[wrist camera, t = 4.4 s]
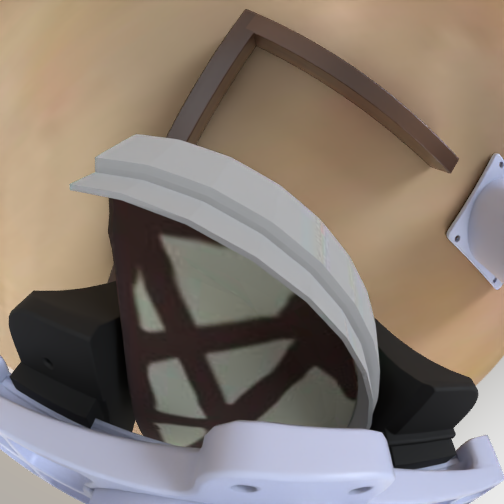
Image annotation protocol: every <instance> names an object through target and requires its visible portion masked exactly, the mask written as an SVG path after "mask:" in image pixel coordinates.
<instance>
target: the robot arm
mask: <svg viewBox="0 0 504 504" xmlns="http://www.w3.org/2000/svg"><path fill="white" fill-rule="evenodd" d="M499 164H500V166H499ZM456 236H457V239H456V240H455V237H456ZM447 238H448V239H449V240H450V241H451V242H452V243H453V244H454V245H455V246H456V247H457V248H458V249H459V250H460V251H461V252H462V253H463V254H464V255H465V256H466V257H467V258H468V260H469V261H470V262H471V263H472V264H473V265H474V266H475V267H476V268H477V269H478V270H479V271H480V272H481V274H482V275H483V276H484V277H485V278H486V279H487V280H488V281H489V283H490V284H491V285H492V286H493V287H494V288H495V289H496V290H498V289H499V288H500V287H501V286H502V285H503V284H504V160H503V158H502V157H501V156H500V155H499V154H496V153H494V154H493V155H492V157H491V159H490V161H489V163H488V165H487V167H486V168H485V170H484V172H483V174H482V176H481V178H480V179H479V181H478V183H477V185H476V186H475V188H474V190H473V191H472V193H471V195H470V196H469V198H468V200H467V201H466V203H465V205H464V206H463V208H462V209H461V211H460V212H459V214H458V216H457V217H456V219H455V220H454V222H453V223H452V225H451V226H450V228H449V229H448V231H447ZM374 320H375V324H376V333H377V343H378V354H379V366H380V379H379V393H378V400H377V403H376V406H375V409H374V411H373V414H372V424H371V427H370V429H363V428H330V427H314V426H302V425H292V424H283V423H275V422H267V421H250V420H236V421H232V422H228V423H224V424H219V425H217V426H214V427H213V428H212V429H211V430H210V431H209V432H208V433H207V434H206V435H205V436H204V441H203V445H202V447H201V448H191V447H181V446H176V445H172V444H168V443H165V442H161V441H158V440H154V439H151V438H148V437H145V436H142V435H139V434H136V433H133V432H132V430H133V427H134V423H135V418H134V414H133V409H132V404H131V399H130V393H129V387H128V379H127V371H126V361H125V354H124V346H123V338H122V329H121V320H120V313H119V305H118V296H117V286H116V281H113V282H110V283H106V284H102V285H97V286H93V287H88V288H82V289H74V290H63V291H33V292H32V293H31V294H29V295H28V296H27V297H26V298H25V299H24V300H23V301H22V302H21V303H20V304H19V305H17V306H16V307H15V308H14V309H13V310H12V311H11V313H10V315H9V328H10V332H11V336H12V339H13V341H14V344H15V347H16V349H17V352H18V354H19V357H20V359H21V363H20V364H19V365H18V366H17V368H16V369H15V370H14V371H13V373H12V374H11V373H10V372H9V369H8V367H7V364H6V362H5V361H4V359H3V358H2V356H1V355H0V449H1V450H2V451H3V452H5V453H6V454H7V455H8V456H10V457H11V458H13V459H14V460H15V461H16V462H18V463H19V464H21V465H22V466H23V467H25V468H26V469H28V470H29V471H31V472H32V473H33V474H35V475H36V476H38V477H40V478H41V479H43V480H44V481H46V482H47V483H49V484H51V485H52V486H54V487H56V488H57V489H59V490H61V491H62V492H64V493H66V494H68V495H70V496H72V497H73V498H75V499H77V500H79V501H81V502H83V503H85V504H469V503H471V502H472V501H474V500H475V499H477V498H479V497H480V496H482V495H483V494H485V493H486V492H488V491H489V490H491V489H492V488H494V487H495V486H497V485H498V484H499V483H501V482H502V481H503V480H504V474H503V472H502V469H501V466H500V464H499V461H498V459H497V456H496V454H495V451H494V449H493V446H492V444H491V442H490V439H489V437H488V435H484V436H480V437H476V438H472V439H470V440H468V441H466V442H465V443H464V444H463V445H461V446H460V447H459V448H458V449H457V450H456V451H455V448H454V445H453V443H452V440H451V438H454V436H455V431H454V429H453V428H454V427H455V426H456V425H457V424H458V423H459V422H460V421H461V420H462V419H463V418H464V417H465V416H466V415H467V413H468V412H469V411H470V410H471V409H472V408H473V406H474V404H475V403H476V401H477V398H478V390H477V388H476V386H475V384H474V383H473V381H472V380H471V378H469V377H466V376H464V375H461V374H459V373H456V372H453V371H451V370H449V369H446V368H444V367H442V366H440V365H438V364H436V363H434V362H433V361H431V360H429V359H427V358H426V357H424V356H422V355H421V354H419V353H417V352H416V351H414V350H413V349H411V348H410V347H409V346H407V345H406V344H404V343H403V342H402V341H400V340H399V339H398V338H397V337H395V336H394V335H393V334H392V333H391V332H390V331H388V330H387V329H386V328H385V327H384V326H383V325H382V324H381V323H380V322H378V321H377V320H376V319H375V318H374Z"/></svg>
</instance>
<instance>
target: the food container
mask: <svg viewBox="0 0 504 504" xmlns="http://www.w3.org/2000/svg"><path fill="white" fill-rule="evenodd" d="M70 190H73V191H78V192H83V193H88V194H93V195H98V196H103V197H108V198H109V212H110V214H109V225H108V234H109V238H110V243H111V247H112V253H113V261H114V268H115V275H116V286H117V296H118V305H119V313H120V320H121V329H122V338H123V346H124V354H125V361H126V371H127V379H128V387H129V393H130V399H131V404H132V409H133V414H134V418H135V420H136V422H137V424H138V427H139V429H140V431H141V433H142V434H143V436H145V437H148V438H151V439H154V440H158V441H161V442H165V443H168V444H172V445H176V446H181V447H191V448H201V447H202V445H203V441H204V436H205V435H206V434H207V433H208V432H209V431H210V430H211V429H212V428H213V427H214V426H217V425H219V424H224V423H228V422H232V421H236V420H250V421H267V422H275V423H283V424H292V425H302V426H314V427H330V428H363V429H370V427H371V424H372V414H373V411H374V409H375V406H376V403H377V400H378V393H379V379H380V366H379V354H378V343H377V333H376V324H375V320H374V316H373V312H372V308H371V304H370V300H369V296H368V292H367V290H366V288H365V286H364V284H363V282H362V280H361V278H360V276H359V274H358V272H357V270H356V268H355V266H354V264H353V262H352V260H351V258H350V256H349V255H348V254H347V252H346V251H345V250H344V248H343V247H342V246H341V245H340V243H339V242H338V241H337V240H336V238H335V237H334V236H333V235H332V233H331V232H330V231H329V230H328V228H327V227H326V226H325V225H324V223H323V222H322V221H321V220H320V219H319V218H318V217H317V216H316V215H315V214H314V213H312V212H311V211H310V210H309V209H308V208H307V207H305V206H304V205H303V204H302V203H301V202H300V201H298V200H297V199H296V198H295V197H294V196H292V195H291V194H290V193H289V192H288V191H286V190H285V189H284V188H283V187H282V186H280V185H279V184H277V183H276V182H274V181H272V180H271V179H269V178H267V177H265V176H264V175H262V174H260V173H258V172H257V171H255V170H253V169H251V168H250V167H248V166H246V165H244V164H242V163H241V162H239V161H237V160H235V159H233V158H232V157H229V156H226V155H223V154H221V153H218V152H215V151H212V150H209V149H206V148H203V147H200V146H197V145H194V144H191V143H188V142H185V141H182V140H178V139H171V138H164V137H156V136H148V135H140V134H135V135H133V136H131V137H130V138H128V139H126V140H124V141H122V142H120V143H119V144H117V145H115V146H113V147H112V148H110V149H108V150H107V151H105V152H103V153H101V154H100V155H98V156H97V157H95V173H92V174H90V175H88V176H86V177H84V178H81V179H79V180H77V181H75V182H73V183H71V184H70Z"/></svg>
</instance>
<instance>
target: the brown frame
mask: <svg viewBox="0 0 504 504" xmlns="http://www.w3.org/2000/svg"><path fill="white" fill-rule="evenodd" d="M256 46H258V47H260V48H262V49H264V50H266V51H268V52H270V53H272V54H274V55H276V56H278V57H280V58H282V59H283V60H285V61H287V62H289V63H291V64H292V65H294V66H296V67H298V68H300V69H301V70H303V71H305V72H306V73H308V74H310V75H311V76H313V77H315V78H316V79H318V80H320V81H321V82H323V83H324V84H326V85H327V86H329V87H331V88H332V89H334V90H335V91H337V92H338V93H340V94H341V95H343V96H344V97H346V98H347V99H348V100H350V101H351V102H353V103H354V104H356V105H357V106H358V107H360V108H361V109H362V110H364V111H365V112H366V113H368V114H369V115H370V116H372V117H373V118H374V119H376V120H377V121H378V122H380V123H381V124H382V125H383V126H385V127H386V128H387V129H388V130H390V131H391V132H392V133H393V134H394V135H396V136H397V137H398V138H399V139H400V140H402V141H403V142H404V143H405V144H406V145H407V146H409V147H410V148H411V149H412V150H413V151H414V152H415V153H416V154H417V155H419V156H420V157H421V158H422V159H423V160H424V161H425V162H426V163H427V164H428V165H429V166H430V167H432V168H435V169H438V170H441V171H444V172H447V173H451V172H452V170H453V169H454V167H455V165H456V164H457V162H458V160H459V158H458V157H457V156H456V155H455V154H454V153H453V152H452V151H451V149H450V148H449V147H448V146H447V145H446V144H445V143H444V142H443V141H442V140H441V139H440V138H439V137H438V136H437V135H436V134H435V133H434V132H433V131H432V130H431V129H430V128H429V127H428V126H426V125H425V124H424V123H423V122H422V121H421V120H420V119H419V118H418V117H417V116H416V115H414V114H413V113H412V112H411V111H410V110H409V109H408V108H406V107H405V106H404V105H403V104H402V103H401V102H399V101H398V100H397V99H396V98H394V97H393V96H392V95H391V94H390V93H388V92H387V91H386V90H384V89H383V88H382V87H381V86H379V85H378V84H377V83H375V82H374V81H373V80H371V79H370V78H369V77H367V76H366V75H364V74H363V73H362V72H360V71H359V70H357V69H356V68H354V67H353V66H351V65H350V64H348V63H347V62H345V61H344V60H342V59H341V58H339V57H338V56H336V55H335V54H333V53H331V52H330V51H328V50H326V49H325V48H323V47H321V46H320V45H318V44H316V43H315V42H313V41H311V40H309V39H308V38H306V37H304V36H302V35H300V34H298V33H296V32H295V31H293V30H291V29H289V28H287V27H285V26H283V25H281V24H279V23H277V22H275V21H272V20H270V19H268V18H266V17H264V16H261V15H259V14H257V13H254V12H252V11H250V10H247V9H245V10H244V12H243V13H242V14H241V16H240V17H239V18H238V20H237V21H236V22H235V24H234V25H233V27H232V28H231V29H230V31H229V32H228V34H227V35H226V37H225V38H224V40H223V41H222V42H221V44H220V45H219V47H218V48H217V50H216V51H215V53H214V55H213V56H212V58H211V59H210V61H209V62H208V64H207V66H206V67H205V69H204V70H203V72H202V74H201V75H200V77H199V79H198V80H197V82H196V84H195V85H194V87H193V89H192V90H191V92H190V94H189V96H188V97H187V99H186V101H185V103H184V104H183V106H182V108H181V110H180V112H179V114H178V115H177V117H176V119H175V121H174V123H173V125H172V127H171V129H170V131H169V133H168V135H167V137H166V138H171V139H178V140H182V141H185V142H188V143H191V144H194V145H196V143H197V141H198V140H199V138H200V136H201V134H202V132H203V130H204V129H205V127H206V125H207V123H208V122H209V120H210V118H211V116H212V115H213V113H214V111H215V109H216V108H217V106H218V104H219V103H220V101H221V99H222V98H223V96H224V94H225V93H226V91H227V90H228V88H229V86H230V85H231V83H232V81H233V80H234V78H235V77H236V75H237V74H238V72H239V71H240V69H241V67H242V66H243V64H244V63H245V61H246V60H247V58H248V57H249V55H250V54H251V52H252V51H253V49H254V48H255V47H256ZM113 281H116V275H115V268H114V264H113V267H112V270H111V274H110V277H109V280H108V283H110V282H113Z"/></svg>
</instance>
